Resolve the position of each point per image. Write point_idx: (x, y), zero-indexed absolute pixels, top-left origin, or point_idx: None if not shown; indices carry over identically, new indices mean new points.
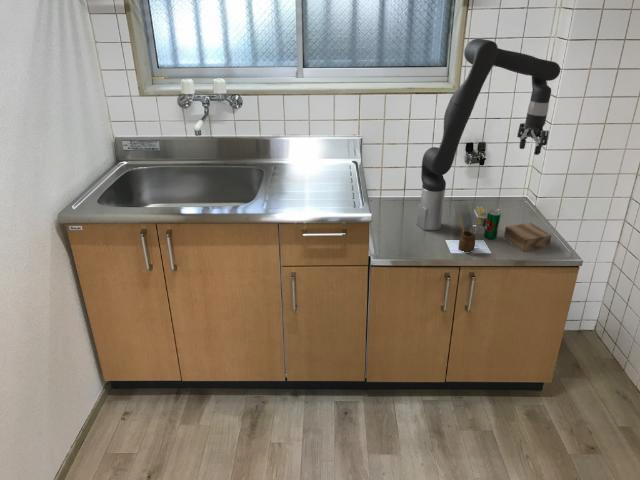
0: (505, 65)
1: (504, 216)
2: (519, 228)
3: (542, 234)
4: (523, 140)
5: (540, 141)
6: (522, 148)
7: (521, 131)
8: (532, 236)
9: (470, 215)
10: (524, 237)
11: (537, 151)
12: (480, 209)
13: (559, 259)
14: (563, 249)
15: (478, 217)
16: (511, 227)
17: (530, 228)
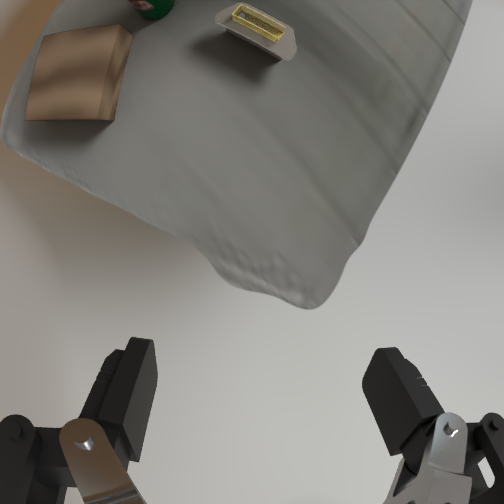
0: None
1: (247, 143)
2: (89, 56)
3: (37, 99)
4: (411, 432)
5: (17, 472)
6: (370, 366)
7: (496, 488)
8: (43, 64)
9: (310, 54)
10: (51, 40)
11: (107, 369)
12: (279, 42)
13: (8, 106)
14: (26, 148)
15: (249, 19)
16: (106, 37)
17: (72, 89)
